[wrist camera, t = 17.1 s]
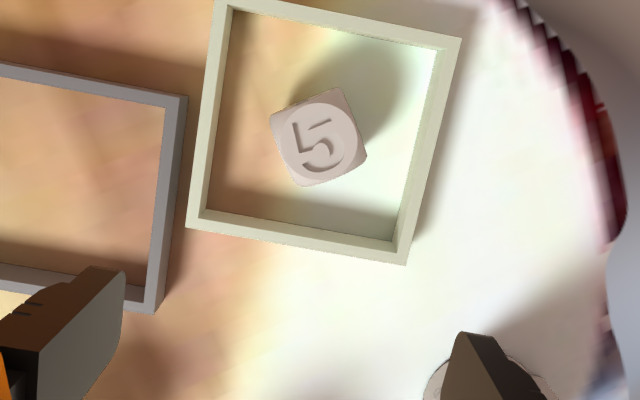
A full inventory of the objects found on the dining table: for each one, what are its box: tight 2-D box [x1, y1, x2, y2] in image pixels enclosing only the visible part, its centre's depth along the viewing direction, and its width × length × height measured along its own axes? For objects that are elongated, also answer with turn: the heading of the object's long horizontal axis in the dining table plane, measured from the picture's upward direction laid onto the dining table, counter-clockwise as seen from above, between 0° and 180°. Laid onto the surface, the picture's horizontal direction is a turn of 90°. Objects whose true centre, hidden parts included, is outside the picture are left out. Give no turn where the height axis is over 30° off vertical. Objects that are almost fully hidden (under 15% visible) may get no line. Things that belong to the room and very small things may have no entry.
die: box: [269, 87, 367, 187], centre depth 33 cm, size 5×5×5 cm
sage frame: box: [185, 0, 462, 266], centre depth 34 cm, size 16×16×2 cm
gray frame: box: [0, 60, 189, 315], centre depth 35 cm, size 16×16×2 cm
